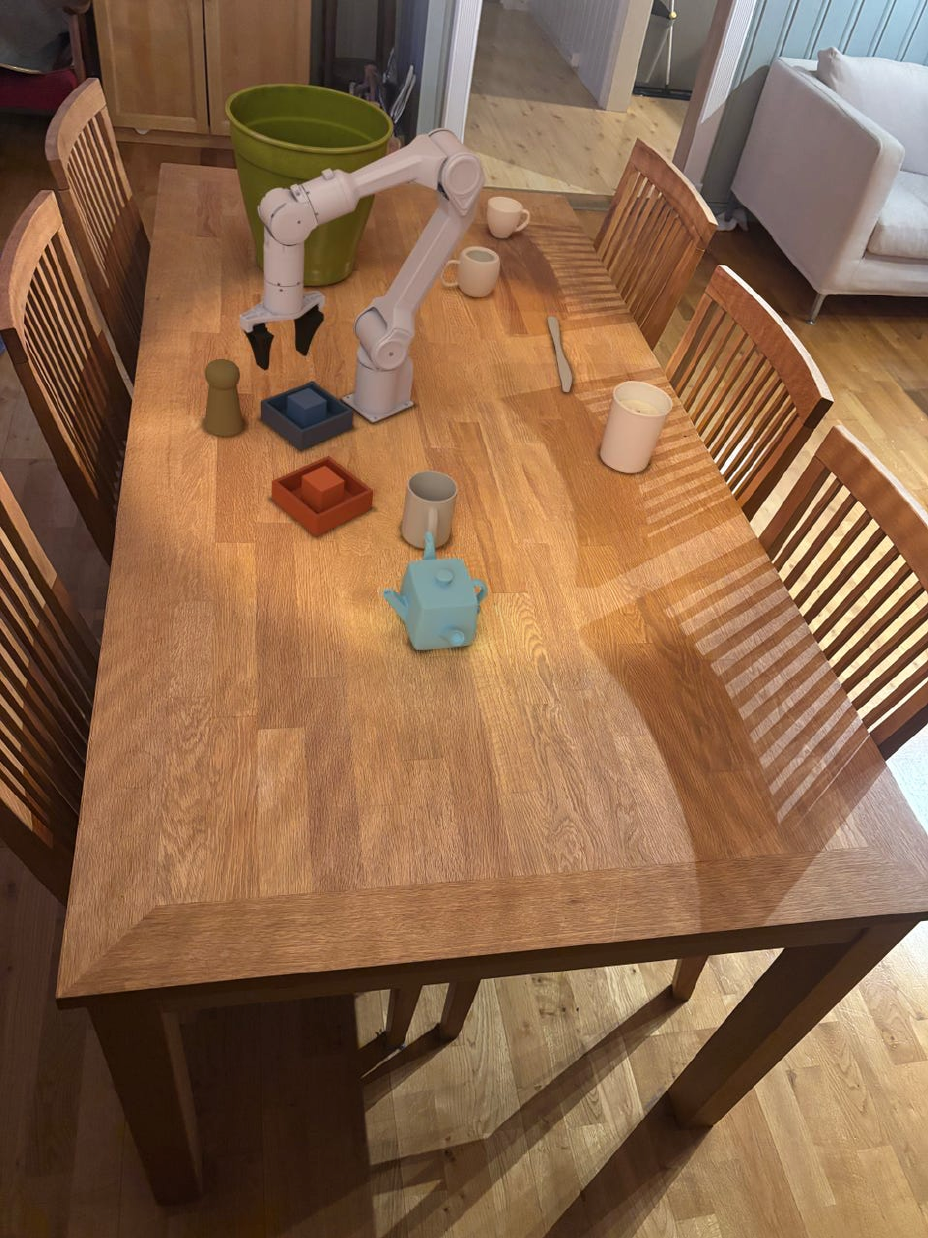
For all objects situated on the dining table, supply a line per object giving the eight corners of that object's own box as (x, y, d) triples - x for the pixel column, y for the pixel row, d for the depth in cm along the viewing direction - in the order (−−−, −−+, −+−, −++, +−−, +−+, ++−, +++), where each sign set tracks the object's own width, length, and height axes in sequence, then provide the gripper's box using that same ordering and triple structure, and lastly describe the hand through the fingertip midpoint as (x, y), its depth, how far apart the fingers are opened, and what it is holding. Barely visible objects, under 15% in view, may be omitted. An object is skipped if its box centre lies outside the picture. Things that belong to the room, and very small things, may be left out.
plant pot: (211, 235, 197) (206, 82, 177) (349, 228, 209) (359, 84, 188) (254, 309, 180) (253, 149, 159) (402, 296, 191) (418, 146, 171)
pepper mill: (235, 439, 152) (234, 378, 144) (198, 430, 152) (195, 369, 144) (249, 419, 156) (248, 358, 148) (213, 410, 156) (210, 349, 148)
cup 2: (480, 224, 220) (485, 195, 215) (522, 228, 222) (528, 198, 217) (486, 240, 214) (491, 210, 210) (529, 243, 217) (535, 214, 212)
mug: (489, 281, 201) (495, 244, 196) (499, 302, 196) (506, 265, 190) (433, 279, 198) (438, 242, 192) (441, 300, 192) (447, 263, 187)
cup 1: (447, 519, 146) (456, 472, 139) (452, 565, 139) (461, 517, 133) (399, 516, 145) (406, 468, 138) (401, 562, 138) (408, 513, 131)
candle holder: (658, 454, 166) (680, 394, 158) (642, 483, 159) (663, 422, 151) (605, 434, 168) (624, 373, 160) (587, 462, 161) (605, 400, 153)
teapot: (496, 674, 126) (510, 620, 118) (390, 684, 122) (398, 629, 115) (462, 578, 137) (473, 523, 130) (364, 584, 133) (370, 529, 126)
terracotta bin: (327, 473, 149) (328, 455, 147) (371, 508, 145) (373, 490, 142) (271, 499, 143) (271, 480, 140) (316, 536, 139) (317, 518, 136)
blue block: (308, 410, 159) (309, 387, 156) (325, 423, 157) (326, 400, 154) (286, 419, 157) (287, 395, 153) (304, 432, 155) (305, 409, 152)
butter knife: (561, 316, 194) (547, 313, 193) (575, 393, 175) (559, 390, 175) (560, 319, 194) (546, 316, 194) (574, 395, 176) (558, 393, 175)
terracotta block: (323, 488, 146) (325, 465, 143) (343, 504, 144) (344, 480, 141) (300, 499, 143) (301, 475, 140) (320, 515, 141) (321, 491, 138)
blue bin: (312, 398, 162) (313, 380, 160) (352, 428, 158) (353, 410, 156) (260, 419, 156) (260, 400, 154) (300, 451, 152) (301, 432, 150)
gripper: (305, 254, 147) (302, 335, 156) (225, 277, 138) (227, 361, 148) (335, 274, 144) (331, 355, 153) (255, 298, 135) (256, 382, 145)
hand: (282, 359), depth 150 cm, fingers open, 7 cm apart
